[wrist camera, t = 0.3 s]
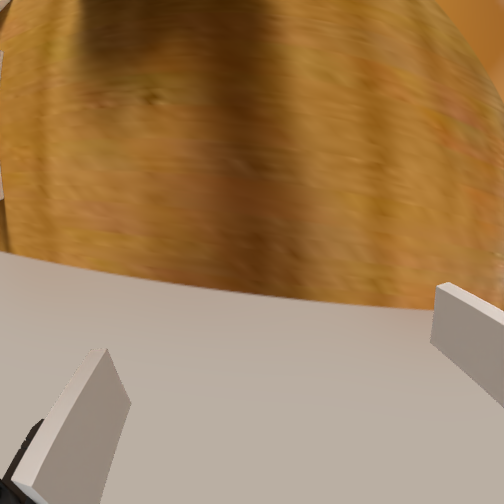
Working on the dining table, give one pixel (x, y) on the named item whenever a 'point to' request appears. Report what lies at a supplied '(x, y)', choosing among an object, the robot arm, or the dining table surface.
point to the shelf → (0, 188)
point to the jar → (3, 3)
